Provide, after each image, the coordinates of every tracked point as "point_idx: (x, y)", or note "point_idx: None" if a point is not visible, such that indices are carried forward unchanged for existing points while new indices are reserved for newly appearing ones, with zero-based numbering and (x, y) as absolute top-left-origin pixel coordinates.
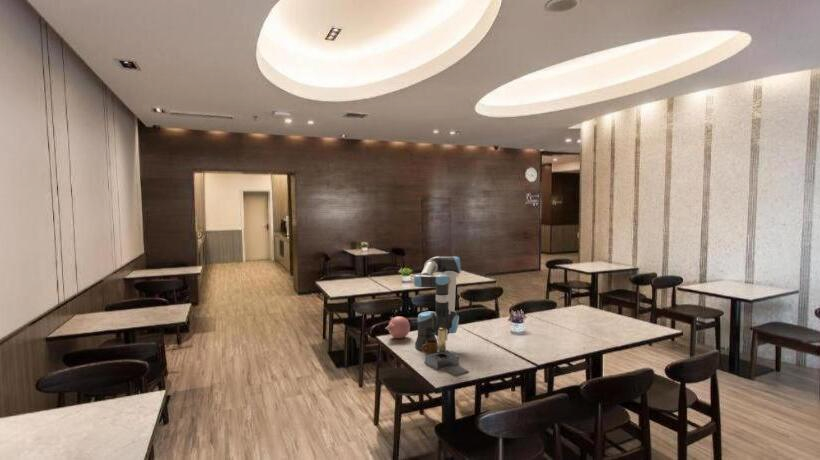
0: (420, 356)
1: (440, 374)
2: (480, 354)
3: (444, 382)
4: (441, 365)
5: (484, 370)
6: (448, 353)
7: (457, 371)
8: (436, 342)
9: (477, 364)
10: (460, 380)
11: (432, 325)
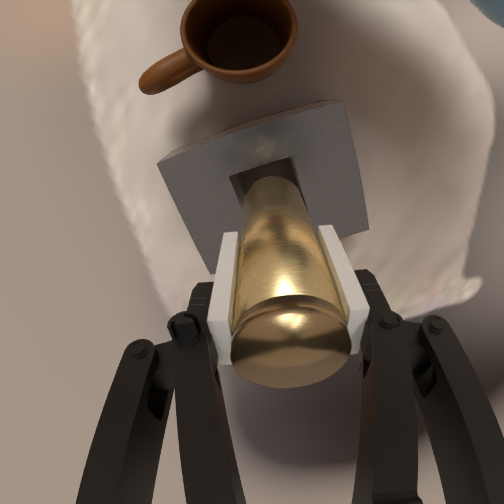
0: (173, 39)
1: None
2: (491, 137)
3: None
4: None
5: (406, 291)
6: (329, 171)
7: None
8: (279, 60)
9: (423, 234)
10: None
11: (119, 394)
